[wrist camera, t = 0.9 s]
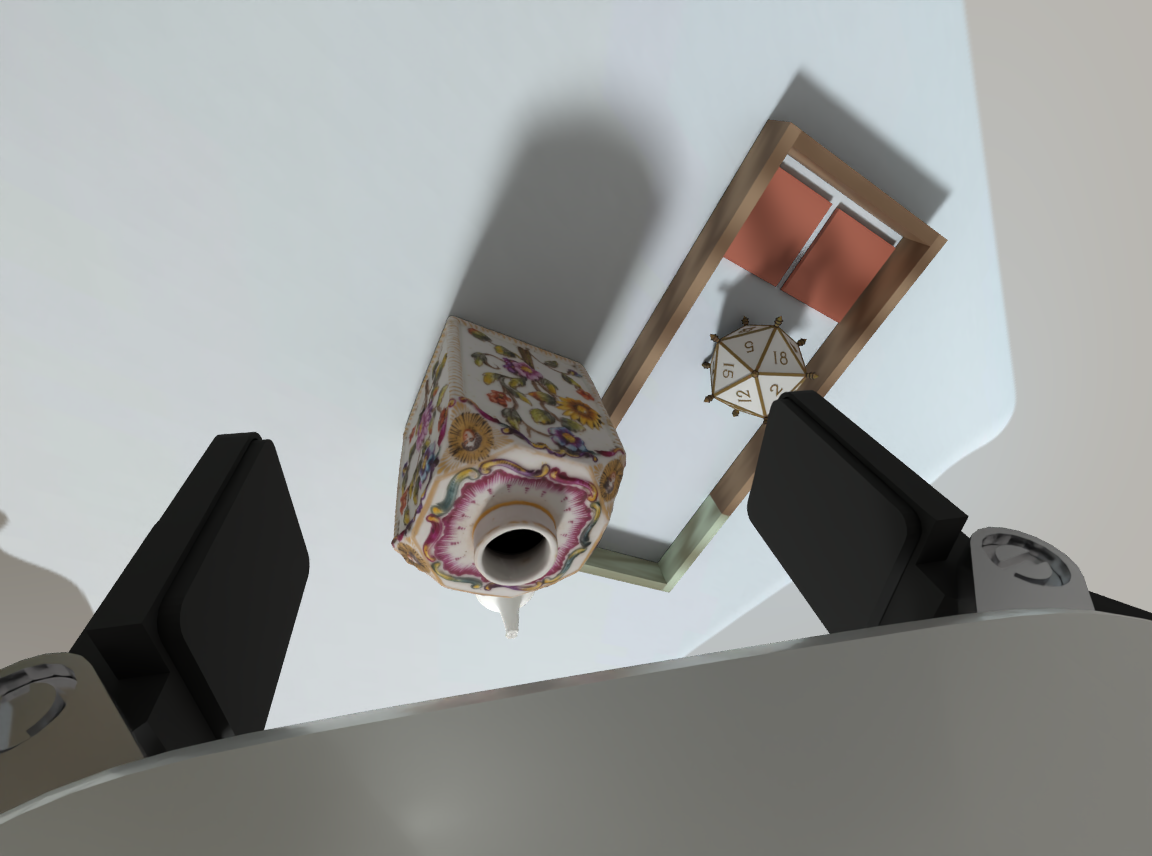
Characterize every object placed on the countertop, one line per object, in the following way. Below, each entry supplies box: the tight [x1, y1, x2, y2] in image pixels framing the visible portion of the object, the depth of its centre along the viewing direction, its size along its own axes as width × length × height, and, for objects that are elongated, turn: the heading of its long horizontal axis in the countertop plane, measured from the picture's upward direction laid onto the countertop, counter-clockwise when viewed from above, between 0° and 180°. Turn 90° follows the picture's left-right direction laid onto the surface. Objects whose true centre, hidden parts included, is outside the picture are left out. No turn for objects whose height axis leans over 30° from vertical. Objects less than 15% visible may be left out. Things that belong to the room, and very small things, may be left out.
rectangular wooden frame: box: [580, 119, 948, 592], centre depth 48 cm, size 40×17×3 cm, turn 152°
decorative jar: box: [391, 316, 626, 598], centre depth 37 cm, size 12×12×18 cm
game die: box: [702, 316, 819, 426], centre depth 44 cm, size 9×8×10 cm
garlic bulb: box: [475, 591, 535, 639], centre depth 53 cm, size 6×6×8 cm
